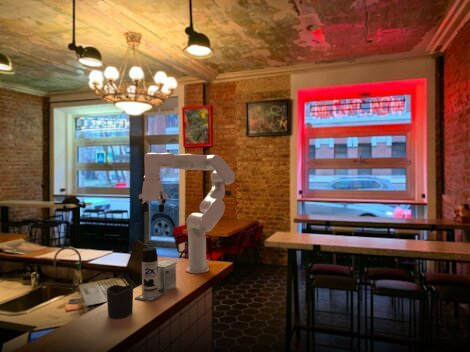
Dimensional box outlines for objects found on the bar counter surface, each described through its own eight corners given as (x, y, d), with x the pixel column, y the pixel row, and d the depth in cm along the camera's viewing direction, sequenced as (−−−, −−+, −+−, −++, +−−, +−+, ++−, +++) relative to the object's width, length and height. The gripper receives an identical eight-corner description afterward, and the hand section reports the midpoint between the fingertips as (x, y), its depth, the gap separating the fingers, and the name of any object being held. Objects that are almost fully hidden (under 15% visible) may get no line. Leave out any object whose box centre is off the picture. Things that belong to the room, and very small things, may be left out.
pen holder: (124, 307, 131) (124, 282, 131) (138, 313, 125) (138, 287, 125) (102, 315, 124) (101, 288, 124) (115, 322, 118) (115, 294, 118)
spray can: (142, 299, 138) (141, 251, 138) (142, 293, 145) (141, 247, 145) (158, 297, 140) (158, 250, 140) (157, 292, 146) (157, 246, 146)
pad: (148, 292, 148) (148, 290, 148) (165, 295, 144) (165, 293, 144) (134, 299, 140) (134, 297, 140) (151, 302, 136) (151, 300, 136)
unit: (163, 285, 158) (163, 260, 158) (177, 287, 154) (177, 261, 154) (150, 291, 149) (150, 265, 149) (165, 294, 146) (164, 267, 146)
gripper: (133, 178, 165) (134, 212, 166) (162, 177, 159) (163, 213, 159) (143, 178, 172) (144, 210, 172) (171, 177, 166) (172, 211, 166)
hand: (153, 212), depth 166 cm, fingers open, 9 cm apart
